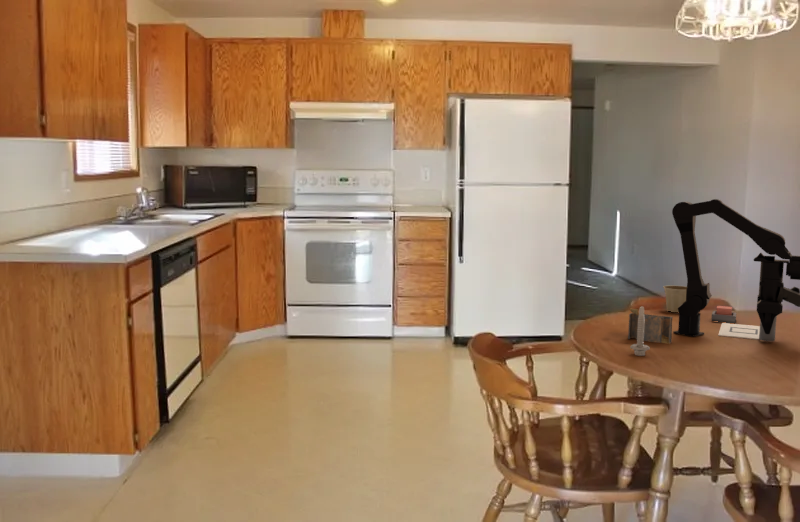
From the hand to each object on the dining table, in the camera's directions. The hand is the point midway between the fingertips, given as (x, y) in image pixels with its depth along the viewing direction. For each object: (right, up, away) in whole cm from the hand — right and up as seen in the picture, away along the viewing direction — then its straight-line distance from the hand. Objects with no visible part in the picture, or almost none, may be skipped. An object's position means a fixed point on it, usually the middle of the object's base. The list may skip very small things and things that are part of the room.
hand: (767, 332), depth 199 cm
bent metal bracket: (-33, -3, +2) cm, 33 cm away
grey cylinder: (0, -2, 0) cm, 2 cm away
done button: (+2, +3, +30) cm, 30 cm away
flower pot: (-8, +2, +46) cm, 47 cm away
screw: (-41, -5, -15) cm, 44 cm away
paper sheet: (0, -1, +14) cm, 15 cm away
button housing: (+2, +1, +31) cm, 31 cm away
